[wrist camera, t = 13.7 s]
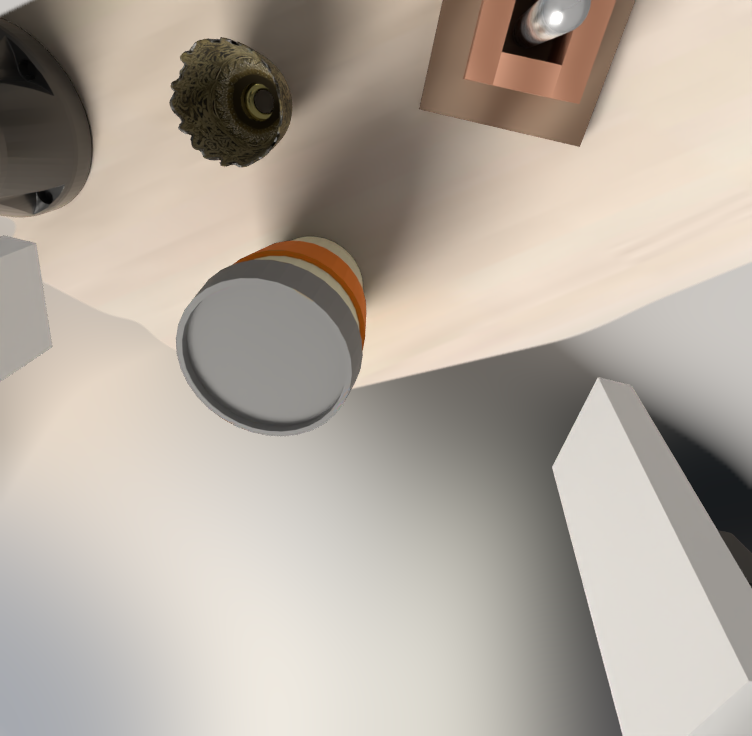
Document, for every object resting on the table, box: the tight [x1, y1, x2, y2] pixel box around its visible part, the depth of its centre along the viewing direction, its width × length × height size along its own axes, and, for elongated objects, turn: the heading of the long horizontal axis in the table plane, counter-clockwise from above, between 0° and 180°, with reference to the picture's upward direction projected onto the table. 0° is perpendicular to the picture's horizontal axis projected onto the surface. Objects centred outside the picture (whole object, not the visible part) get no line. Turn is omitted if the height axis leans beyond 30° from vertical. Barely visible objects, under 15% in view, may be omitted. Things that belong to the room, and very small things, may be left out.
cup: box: [170, 37, 292, 167], centre depth 36 cm, size 8×7×8 cm
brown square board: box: [419, 0, 635, 147], centre depth 34 cm, size 12×12×2 cm
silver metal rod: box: [513, 0, 591, 48], centre depth 28 cm, size 2×2×13 cm
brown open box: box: [463, 0, 616, 104], centre depth 31 cm, size 7×7×6 cm
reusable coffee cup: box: [176, 236, 366, 436], centre depth 40 cm, size 12×13×15 cm
